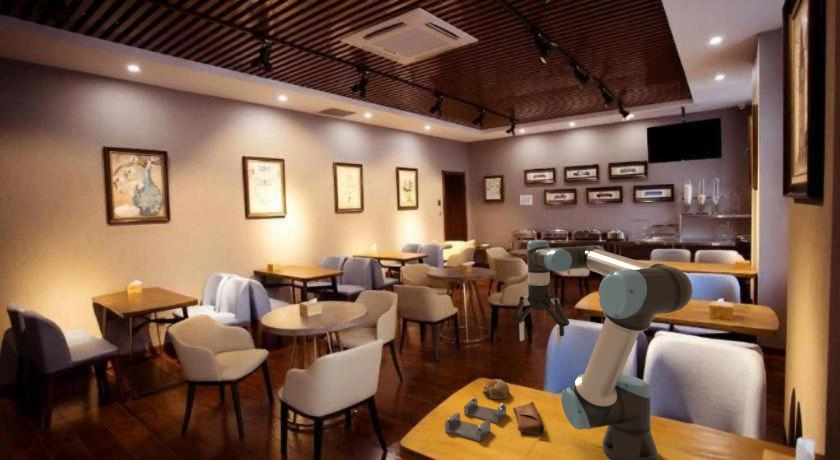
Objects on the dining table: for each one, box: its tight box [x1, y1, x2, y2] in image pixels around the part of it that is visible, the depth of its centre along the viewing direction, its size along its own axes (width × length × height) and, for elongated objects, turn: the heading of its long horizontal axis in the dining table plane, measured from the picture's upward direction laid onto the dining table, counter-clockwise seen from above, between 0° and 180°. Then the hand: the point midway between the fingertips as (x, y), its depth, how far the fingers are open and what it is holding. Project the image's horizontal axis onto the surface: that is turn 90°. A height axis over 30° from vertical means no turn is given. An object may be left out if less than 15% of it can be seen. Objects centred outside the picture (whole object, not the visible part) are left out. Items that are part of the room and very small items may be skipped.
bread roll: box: [482, 378, 510, 401], centre depth 176 cm, size 10×10×8 cm
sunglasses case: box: [512, 401, 545, 436], centre depth 154 cm, size 18×7×7 cm
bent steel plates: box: [444, 396, 507, 443], centre depth 155 cm, size 13×22×4 cm, turn 147°
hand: (540, 342), depth 158 cm, fingers open, 13 cm apart
